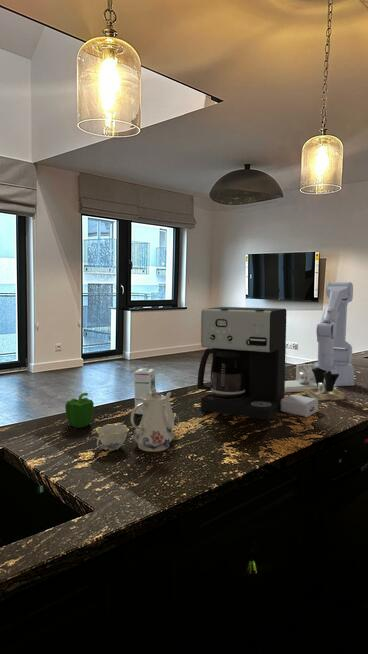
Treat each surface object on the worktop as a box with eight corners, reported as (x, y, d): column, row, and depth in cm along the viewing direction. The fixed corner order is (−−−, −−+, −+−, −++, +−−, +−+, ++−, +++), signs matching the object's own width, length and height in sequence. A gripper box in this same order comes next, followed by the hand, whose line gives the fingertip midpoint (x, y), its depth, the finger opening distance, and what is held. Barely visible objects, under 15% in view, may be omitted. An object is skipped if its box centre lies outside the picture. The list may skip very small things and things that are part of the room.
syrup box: (151, 415, 149) (151, 371, 148) (134, 414, 150) (133, 371, 149) (155, 410, 155) (155, 368, 153) (139, 409, 156) (139, 367, 154)
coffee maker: (189, 409, 156) (189, 308, 153) (212, 396, 173) (213, 305, 170) (268, 420, 143) (270, 310, 140) (284, 405, 160) (286, 307, 157)
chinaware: (159, 430, 139) (155, 376, 138) (203, 436, 128) (198, 378, 128) (87, 457, 117) (82, 394, 117) (132, 467, 107) (126, 397, 106)
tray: (330, 392, 180) (330, 387, 180) (345, 399, 169) (345, 393, 169) (304, 393, 178) (304, 388, 178) (317, 400, 167) (317, 395, 167)
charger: (278, 403, 163) (317, 411, 153) (265, 409, 156) (305, 417, 146) (278, 391, 162) (318, 398, 153) (265, 395, 155) (305, 403, 146)
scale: (319, 383, 196) (320, 363, 196) (334, 390, 184) (335, 369, 183) (271, 385, 192) (272, 365, 192) (283, 392, 180) (284, 371, 179)
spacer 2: (326, 393, 176) (327, 381, 176) (331, 396, 172) (331, 384, 171) (315, 393, 176) (316, 382, 175) (320, 396, 171) (320, 384, 171)
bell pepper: (66, 431, 133) (65, 397, 132) (65, 422, 141) (64, 391, 140) (95, 428, 135) (94, 396, 134) (93, 420, 143) (92, 389, 142)
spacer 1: (306, 382, 189) (306, 371, 189) (311, 384, 185) (311, 373, 184) (296, 382, 188) (296, 371, 188) (301, 384, 184) (301, 374, 184)
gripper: (307, 351, 179) (306, 385, 180) (325, 357, 164) (324, 393, 166) (323, 351, 180) (322, 384, 181) (342, 356, 166) (341, 393, 167)
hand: (324, 389), depth 174 cm, fingers open, 7 cm apart
